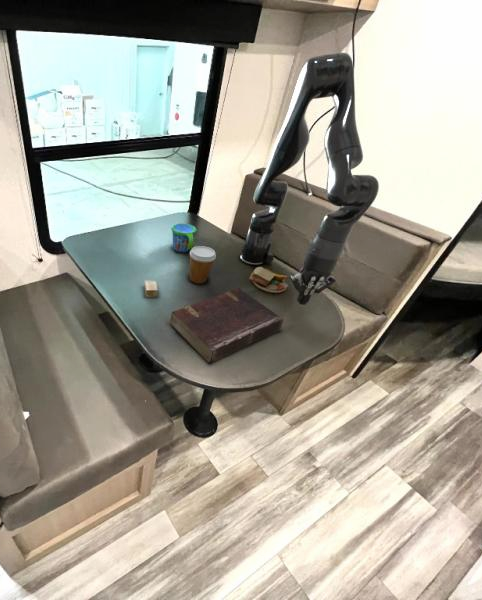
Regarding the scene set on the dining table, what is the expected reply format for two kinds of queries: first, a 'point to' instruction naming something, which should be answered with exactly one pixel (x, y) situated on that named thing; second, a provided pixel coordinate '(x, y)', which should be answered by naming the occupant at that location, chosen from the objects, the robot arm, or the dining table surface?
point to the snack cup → (183, 237)
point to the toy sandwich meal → (268, 280)
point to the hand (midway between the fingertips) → (301, 303)
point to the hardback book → (225, 323)
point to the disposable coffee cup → (201, 263)
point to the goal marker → (150, 289)
